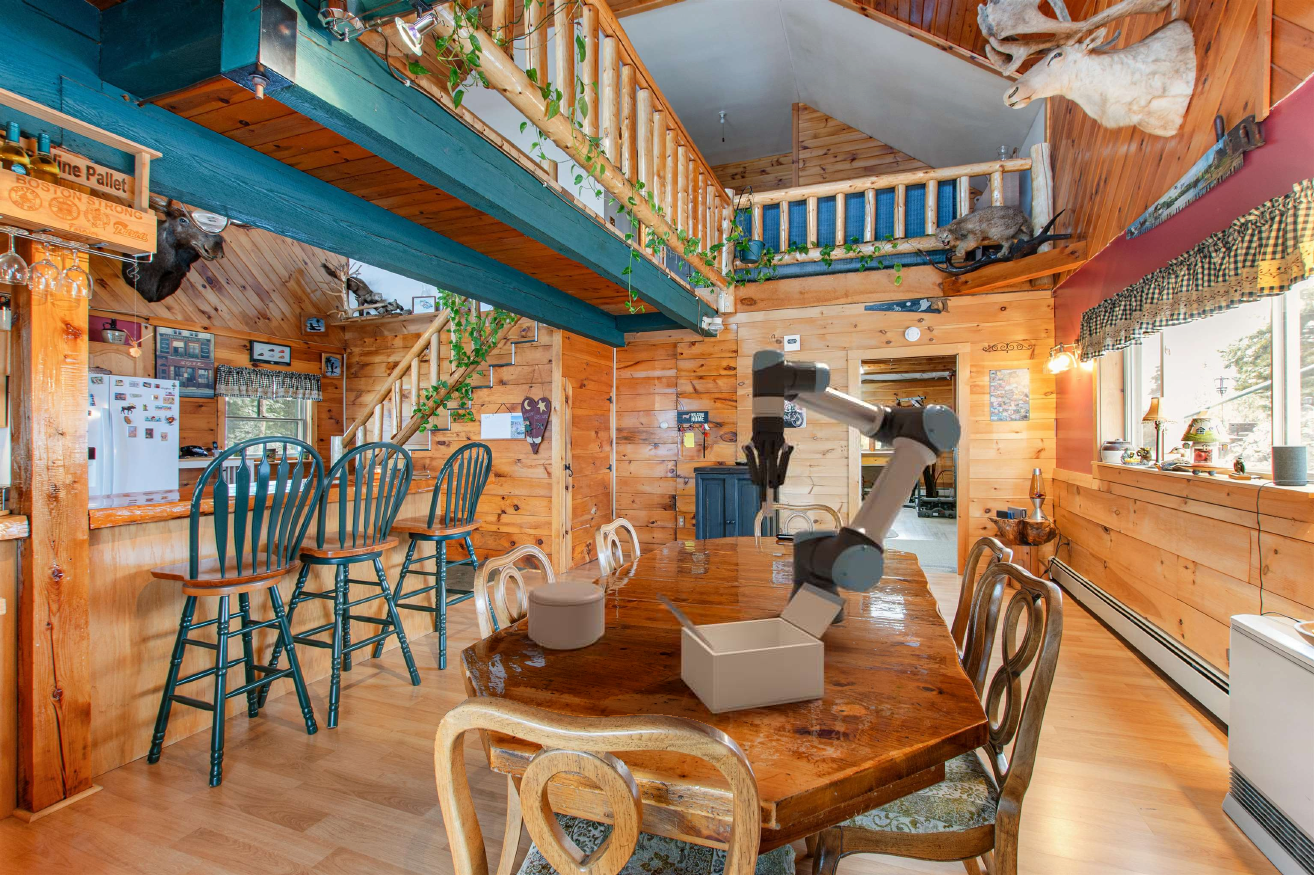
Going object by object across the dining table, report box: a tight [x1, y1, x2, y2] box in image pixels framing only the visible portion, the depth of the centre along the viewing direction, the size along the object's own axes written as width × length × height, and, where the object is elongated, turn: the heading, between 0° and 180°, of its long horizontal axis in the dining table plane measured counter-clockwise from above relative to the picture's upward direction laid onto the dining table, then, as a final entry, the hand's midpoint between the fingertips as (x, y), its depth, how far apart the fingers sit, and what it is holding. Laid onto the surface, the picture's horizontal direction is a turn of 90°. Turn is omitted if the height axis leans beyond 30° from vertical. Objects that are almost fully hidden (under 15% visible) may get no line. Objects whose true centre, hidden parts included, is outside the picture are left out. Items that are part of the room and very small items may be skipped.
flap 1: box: [656, 593, 714, 650], centre depth 109 cm, size 9×14×1 cm
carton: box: [680, 617, 825, 714], centre depth 113 cm, size 22×16×10 cm
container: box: [527, 580, 606, 650], centre depth 140 cm, size 18×18×12 cm
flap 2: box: [779, 582, 847, 640], centre depth 117 cm, size 9×14×1 cm
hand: (767, 515), depth 140 cm, fingers closed
